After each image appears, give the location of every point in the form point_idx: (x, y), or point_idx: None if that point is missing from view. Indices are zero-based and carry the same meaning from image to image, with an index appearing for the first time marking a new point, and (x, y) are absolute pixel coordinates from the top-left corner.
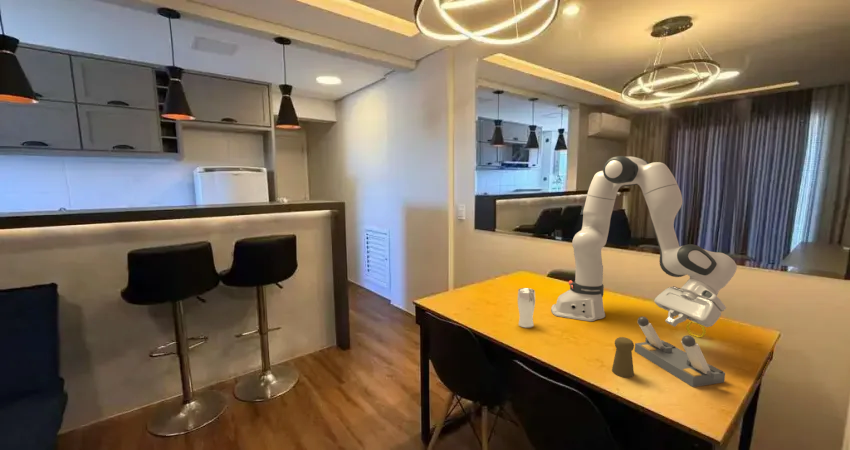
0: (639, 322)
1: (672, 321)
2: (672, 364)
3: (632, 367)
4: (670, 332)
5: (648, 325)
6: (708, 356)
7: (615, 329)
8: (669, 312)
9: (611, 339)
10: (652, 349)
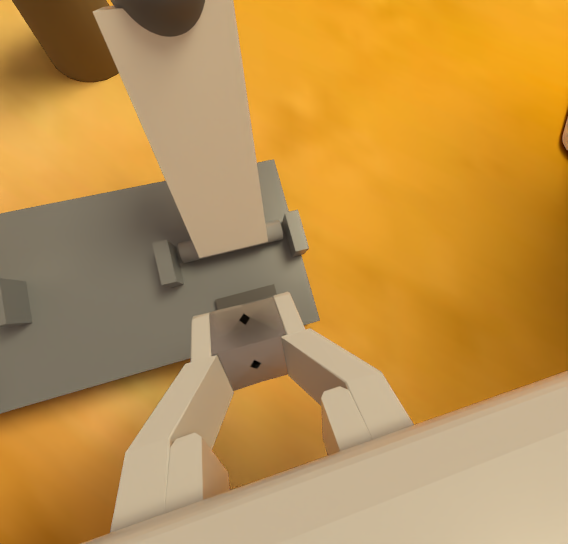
0: None
1: (208, 327)
2: (33, 211)
3: (31, 29)
4: None
5: (97, 9)
6: None
7: (492, 209)
8: (355, 372)
9: (383, 143)
10: None
